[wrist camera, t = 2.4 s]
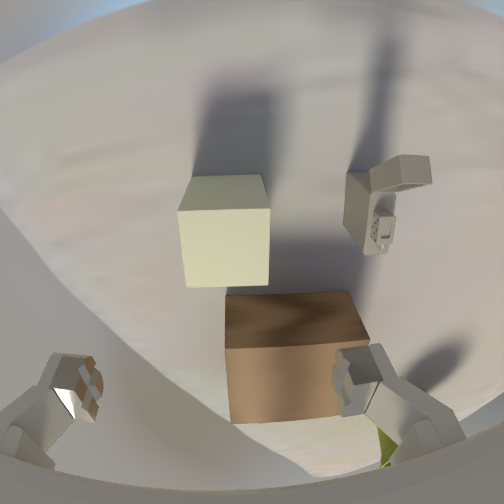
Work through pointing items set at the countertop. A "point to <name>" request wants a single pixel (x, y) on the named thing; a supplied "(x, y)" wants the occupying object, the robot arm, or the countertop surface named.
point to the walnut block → (286, 353)
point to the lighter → (380, 199)
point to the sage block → (225, 231)
